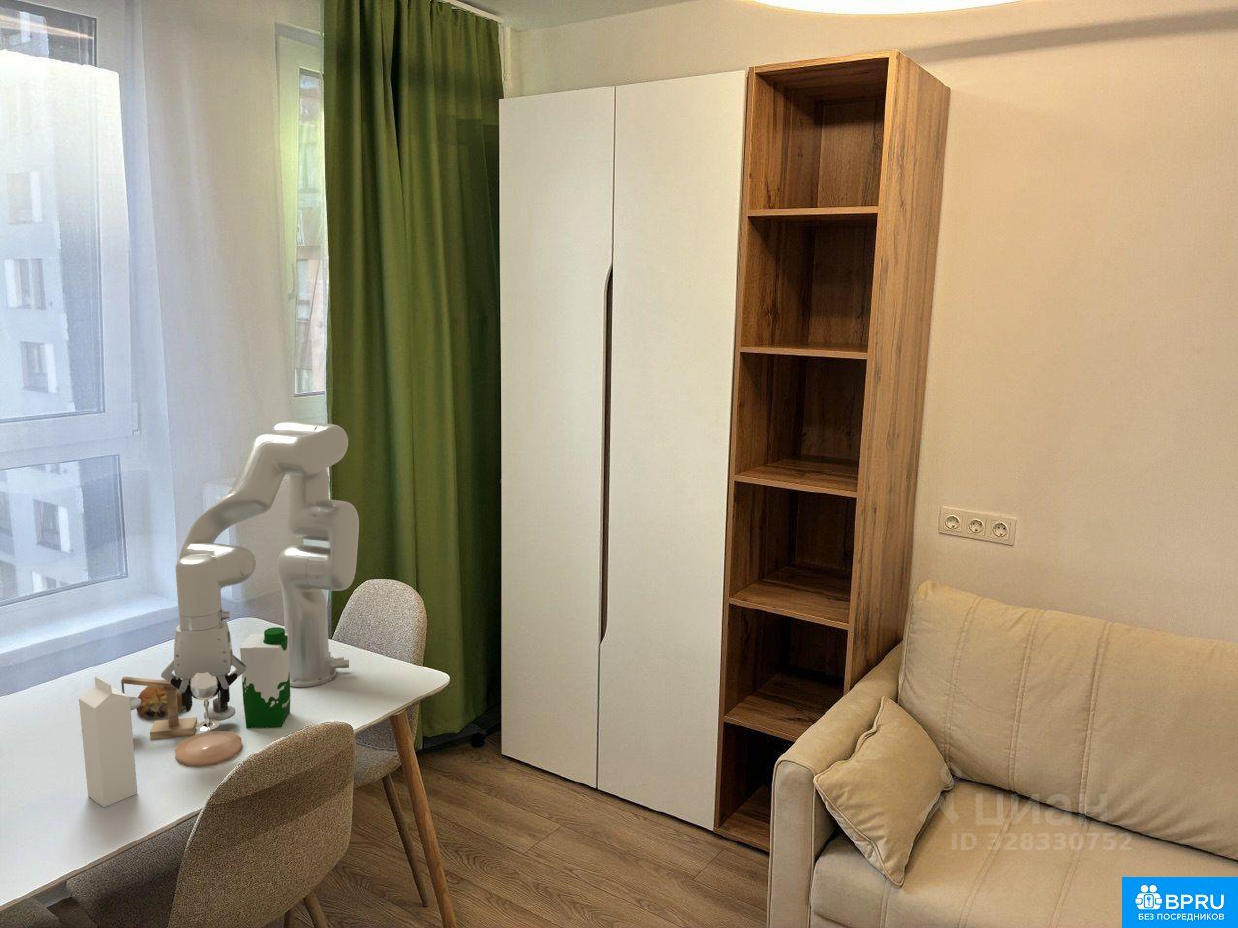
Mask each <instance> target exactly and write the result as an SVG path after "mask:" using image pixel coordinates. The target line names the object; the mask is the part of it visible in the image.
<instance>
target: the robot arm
mask: <svg viewBox="0 0 1238 928" xmlns="http://www.w3.org/2000/svg"><path fill="white" fill-rule="evenodd" d="M348 447H349V437H348V435H347V432H346V431H345V429H344V428H343V427H341V426H339V425H337V424H333V423H322V422H320V423H319V422H310V421H295V420H293V421H292V420H291V421H281V422H278V423H277V424H275V425H274V426H273V427H272V428H271V430H270V433H264V434H260V435H258V436H257V437H255V438H254V439H253V440H252V443H251V445H250V446H249V448H248V451H247V453H246V456H245V457H244V460H243V461H242V462H243V463H242V464H241V467H240V469H239V471H238V474H237V475H236V476H237V477H236V478H235V480H234V483H233V485H232V486H231V489H230V491H229V492H228V494H227V495H225V496H224V497H222V498H221V499H219V500H218V501H217V502H215V503H214V504H212V505H211V506H210V507H209V508H207V509H206V510H205V511H204V512H203V513H202V514H201V515H199V517H198V518H197V519H196V520H195V521H194V523H193V524H192V526H191V527H190V528H189V531H188V534H187V535H186V538H185V540H184V542H183V544H182V547H181V550H180V553H179V557H178V561H177V562H176V564H175V580H176V581H175V582H176V595H177V606H178V607H177V608H178V621H179V622H178V623H179V624H178V625H177V626H176V628H175V633H174V634H175V635H174V643H173V660H172V661H171V662H170V663H169V664H168V665H167V666H166V667H165V668H164V669H163V671H162V672H161V674H160V677H161V678H162V679H163V680H167V681H168V682H170V683H171V684H172V685H173V686H174V687H176V688H177V689H179V692H181V694H182V706H186V707H185V712H186V713H188V712H190V711H191V710H192V707H193V697H192V695H191V694H190V691H189V684H188V683H189V679H190V678H193V677H194V676H195V674H196V673H205V672H208V673H209V674H210V675H211V676H215V677H216V676H217V677H218V679H219V681H220V683H221V688H220V691H219V692H220V703H221V708H222V709H224V708H225V706H226V703H227V702H228V703H230V701H231V694H230V686H231V685H232V684H233V683H234V682H235V681H236V680H237V679H238V678H239V677H240V676H242V673H243V672H244V671H245V670H246V665H245V664H244V663H243V662H241V659H239V658H238V657H237V656H236V655H234V653H233V645H232V638H231V633H230V629H229V625H228V622H227V620H228V619H229V620H230V619H231V611H225V610H224V609H223V607H222V591H221V590H222V589H224V588H227V587H230V586H236V585H240V584H241V583H244V582H245V581H247V580H248V579H249V578H250V577H251V576H253V574H254V572H255V569H256V567H257V565H256V563H257V562H256V557H255V555H254V553H253V552H252V551H251V550H250V549H248V548H247V547H244V546H241V545H240V546H239V545H234V544H231V545H230V544H224V543H215V541H216V539H217V538H218V537H219V536H220V535H221V534H223V532H224V531H225V530H227V529H229V528H230V527H232V526H234V525H236V524H238V523H241V522H243V521H247V520H249V519H252V518H256V517H257V516H260V515H263V514H265V513H268V511H270V510H271V508H272V506H273V503H274V501H275V499H276V497H277V493H278V491H279V489H280V486H281V484H282V482H283V480H284V477H285V476H289V495H288V509H287V530H288V532H289V533H290V535H291V536H292V537H294V538H296V539H297V538H298V539H302V540H310V541H318V542H319V541H320V542H329V547H325V546H320V545H319V546H318V545H310V544H308V545H307V544H294V545H290V546H288V547H286V548H284V549H283V550H282V551H281V552H280V553H279V555H278V557H277V561H276V571H277V577H278V580H279V581H278V582H279V584H280V587H281V595H282V603H283V604H282V605H283V621H284V622H283V623H284V625H283V628H284V630H285V634H289V673H290V687H293V688H295V687H296V688H307V687H315V686H319V685H322V684H325V683H328V682H329V681H331V680H333V679H334V678H335V677H336V676H337V669H348V668H350V659H345V656H339V657H334V656H332V653H331V651H330V650H329V648H330V647H329V622H328V621H329V620H328V617H329V616H328V603H327V600H326V599H327V598H326V596H325V594H324V592H323V590H324V591H336V592H337V591H338V592H339V591H345V590H347V589H349V588H350V587H351V585H352V584H353V582H354V580H355V576H356V570H357V561H358V560H357V559H358V546H359V534H360V519H359V514H358V511H357V509H356V507H355V506H354V505H353V504H352V503H351V502H348V501H346V500H338V499H330V495H329V493H330V491H329V489H330V488H329V487H330V477H329V476H330V475H329V472H328V469H327V468H329V467H332V466H333V465H336V464H337V463H338V462H340V461H341V460H342V459H343V458H344V456H345V455H346V453H347V450H348ZM232 666H233V667H234V668H235V670H234V671H232V672H231V669H232ZM173 672H174V673H173ZM230 672H231V673H230Z"/></svg>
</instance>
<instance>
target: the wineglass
mask: <svg viewBox="0 0 1238 928" xmlns="http://www.w3.org/2000/svg"><path fill="white" fill-rule="evenodd" d="M220 688H221V683H220V681H219V679H218V677H217V676H216V677H215V676H211V675H210V674H209V673H208V672H205V673H196V674H195V676H194V677H193V678H190V679H189V691H190V694H191V695H192V698H193V699H196V700H198V701H203V708H204V711H205V712H206V719H204V720H202V721H199V722H197V725H196V726H195V728H196V729H195V730H197V731H199V732H209V731H213V730H214V729H217V728H219V727H220V726H221V721H217V720H209V716H208V709H209V707H210V702H209V700H211V699H213V698H215V697H217V696H218V693H219V692H220Z"/></svg>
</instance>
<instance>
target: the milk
mask: <svg viewBox="0 0 1238 928" xmlns="http://www.w3.org/2000/svg"><path fill="white" fill-rule="evenodd" d="M124 693H125V692H124ZM124 693H122V691H120V690H119V689H117V688H115V687H113V686H112V685H111V684H109V683H108V682H106V681H105V680H104V679H101V678H100V677H98V676H95V677H94V685H92V686H91V687H90V688H89V689H88V690H87V691H86V692H85V693H83V694H82V695H81V696H80V697H78V702H79V714H80V723H81V724H80V725H81V735H82V745H83V755H84V768H85V778H86V787H87V788H86V789H87V796H88V798H90V799H92V800H93V801H94V802H95V803H97V804H98V805H100V806H101V807H102V808H107V807H109V806H111V805H114V804H115V803H118V802H120V801H123V800H125V799H127V798H130V797H133V796H134V795H137V794H138V785H137V783H138V782H137V772H136V769H137V768H136V758H135V745H134V736H133V735H134V734H133V733H134V732H133V721H132V710H131V708H130V697H131V696H129V695H128V694H124Z"/></svg>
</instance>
